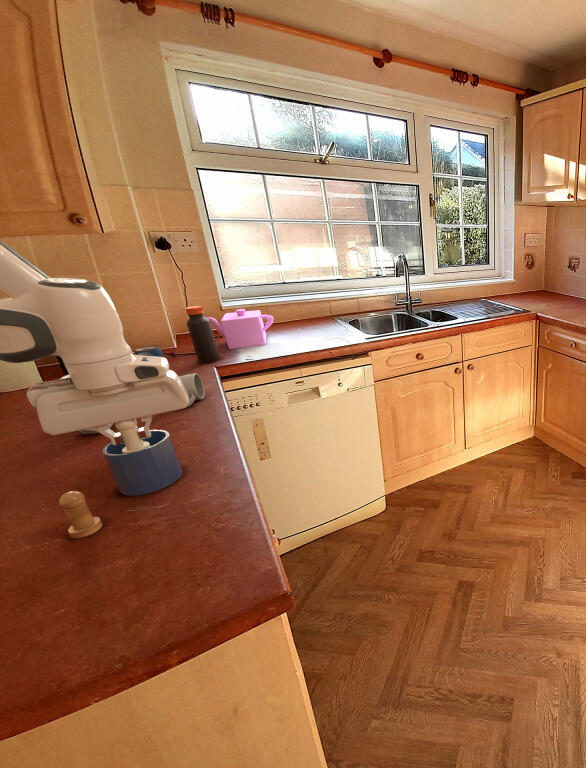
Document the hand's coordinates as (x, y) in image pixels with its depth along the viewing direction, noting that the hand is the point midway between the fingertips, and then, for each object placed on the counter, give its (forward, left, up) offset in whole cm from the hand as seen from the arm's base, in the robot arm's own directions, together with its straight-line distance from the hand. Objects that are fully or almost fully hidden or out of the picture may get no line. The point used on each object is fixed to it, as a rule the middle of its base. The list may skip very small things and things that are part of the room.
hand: (133, 440), depth 80 cm
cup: (0, +2, -10) cm, 11 cm away
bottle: (+11, +88, -10) cm, 90 cm away
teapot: (+24, +108, -10) cm, 111 cm away
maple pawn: (-8, -10, -10) cm, 16 cm away
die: (-13, +38, -10) cm, 42 cm away
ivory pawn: (0, 0, -3) cm, 3 cm away
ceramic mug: (+5, +46, -10) cm, 48 cm away
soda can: (-3, +70, -10) cm, 71 cm away
